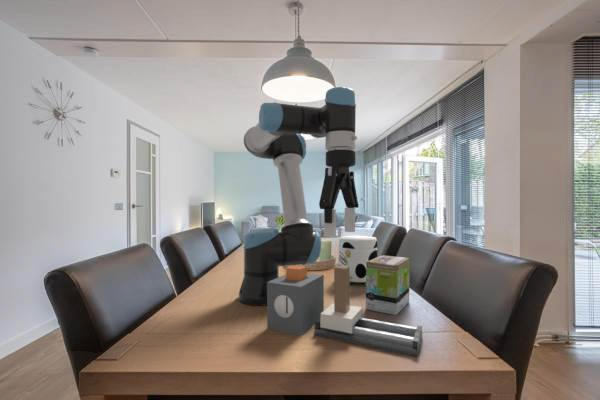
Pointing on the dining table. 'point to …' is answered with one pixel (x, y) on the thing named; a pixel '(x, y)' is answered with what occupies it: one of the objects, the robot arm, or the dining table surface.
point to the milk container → (357, 255)
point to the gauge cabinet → (295, 303)
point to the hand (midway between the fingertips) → (340, 234)
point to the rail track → (378, 335)
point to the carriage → (341, 304)
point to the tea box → (387, 284)
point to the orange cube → (296, 273)
